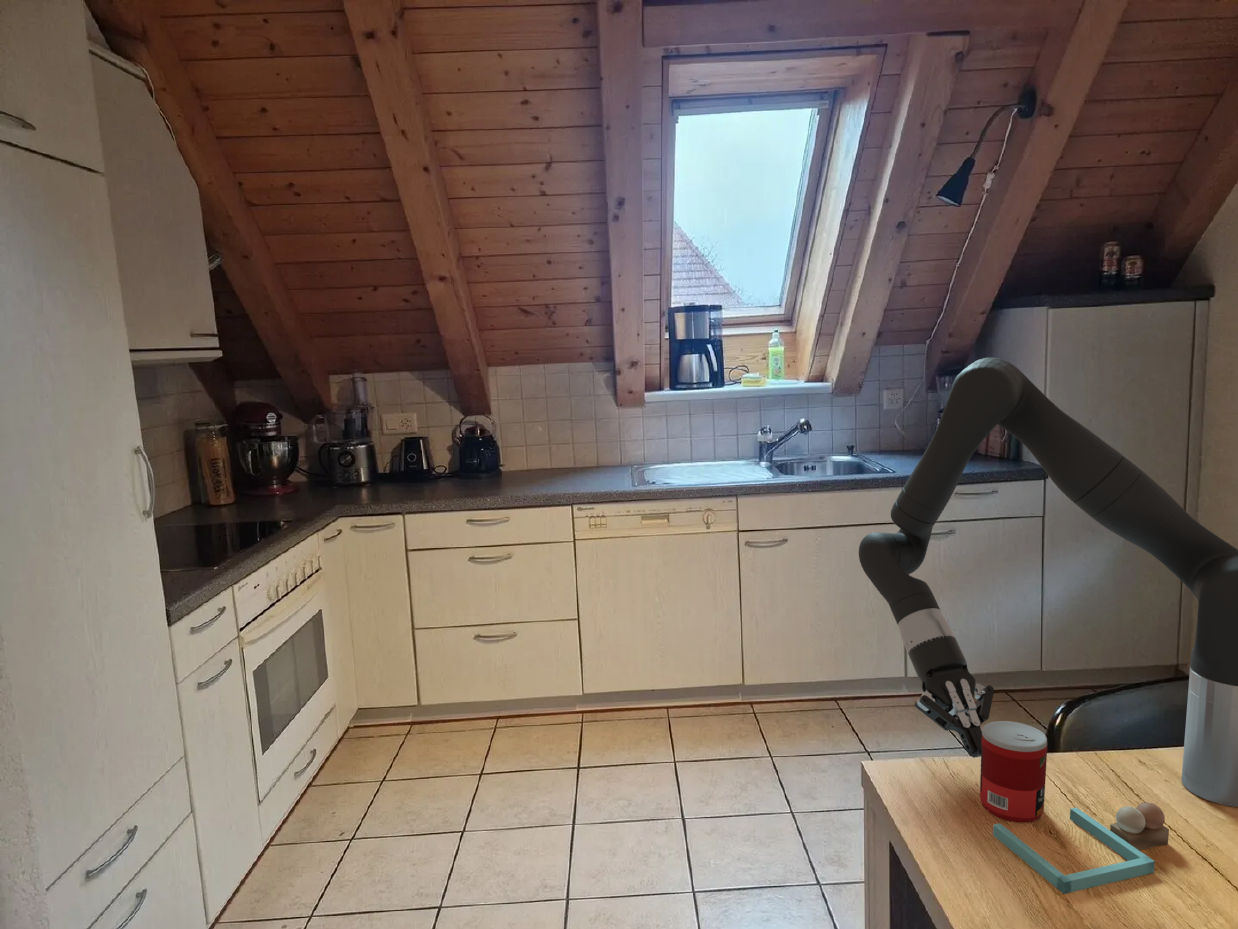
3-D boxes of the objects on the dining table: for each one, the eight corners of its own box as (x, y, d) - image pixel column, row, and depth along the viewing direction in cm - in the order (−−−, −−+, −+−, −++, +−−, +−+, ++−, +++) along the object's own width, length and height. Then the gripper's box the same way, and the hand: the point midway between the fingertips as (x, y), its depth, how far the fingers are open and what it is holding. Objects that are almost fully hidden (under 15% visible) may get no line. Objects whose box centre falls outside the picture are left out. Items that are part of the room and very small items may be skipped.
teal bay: (1076, 817, 111) (1076, 807, 110) (1154, 872, 99) (1154, 861, 99) (993, 835, 107) (993, 824, 107) (1063, 894, 96) (1064, 882, 96)
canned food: (1051, 827, 109) (1055, 749, 107) (986, 822, 110) (989, 745, 109) (1034, 795, 116) (1037, 722, 115) (973, 791, 118) (976, 718, 116)
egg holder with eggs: (1147, 829, 107) (1149, 795, 107) (1169, 844, 104) (1171, 809, 104) (1108, 838, 106) (1110, 803, 105) (1129, 853, 103) (1131, 817, 102)
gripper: (903, 639, 124) (953, 754, 114) (979, 629, 127) (1033, 740, 117) (883, 659, 130) (928, 770, 120) (956, 649, 133) (1006, 756, 123)
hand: (980, 755), depth 119 cm, fingers closed
